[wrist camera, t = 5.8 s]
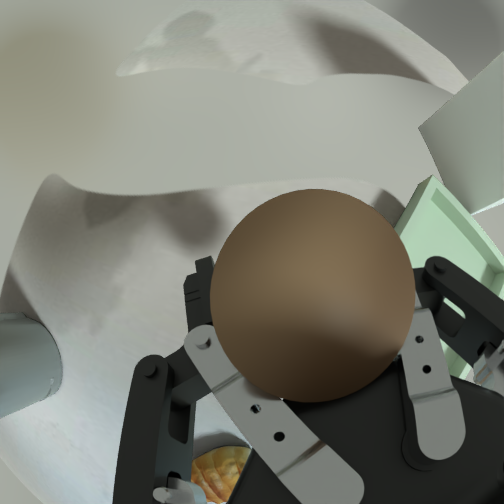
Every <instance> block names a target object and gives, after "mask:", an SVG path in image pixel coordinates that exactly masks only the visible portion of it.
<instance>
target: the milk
mask: <svg viewBox="0 0 504 504" xmlns="http://www.w3.org/2000/svg"><path fill="white" fill-rule="evenodd" d="M418 129H419V131H420V132H421V134H422V136H423V138H424V140H425V142H426V144H427V146H428V149H429V151H430V153H431V155H432V157H433V159H434V162H435V164H436V166H437V168H438V171H439V173H440V176H441V178H442V180H443V182H444V185H445V187H446V188H447V189H448V190H449V191H450V193H451V194H452V195H453V196H454V197H455V198H456V199H457V200H458V201H459V202H460V203H461V204H462V206H463V207H464V208H465V209H466V210H467V211H468V212H469V213H470V215H474V214H477V213H479V212H481V211H484V210H487V209H490V208H492V207H495V206H497V205H500V204H502V203H504V51H503V52H502V53H500V54H499V55H498V56H497V57H496V58H495V59H494V60H493V61H492V62H491V63H490V64H489V65H488V66H486V67H485V68H484V69H483V70H482V71H481V72H480V73H479V74H478V75H477V76H475V77H474V78H473V79H472V80H471V81H470V82H469V83H468V84H467V85H466V86H464V87H463V88H462V89H461V90H460V91H459V92H458V93H457V94H456V95H454V96H453V97H452V98H451V99H450V100H449V101H448V102H447V103H446V104H445V105H443V106H442V107H441V108H440V109H439V110H438V111H437V112H435V114H433V115H432V116H431V117H430V118H429V119H428V120H426V121H425V122H424V123H423V124H422V125H421V126H420V127H419V128H418Z"/></svg>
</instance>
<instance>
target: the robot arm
mask: <svg viewBox="0 0 504 504" xmlns="http://www.w3.org/2000/svg"><path fill="white" fill-rule="evenodd" d="M195 265H196V272H197V273H194V274H191V275H188V276H187V277H186V280H185V282H184V285H183V286H184V295H185V306H186V315H187V323H188V334H187V336H186V338H185V340H184V345H183V346H182V347H181V348H180V349H179V350H177V351H176V352H174V353H172V354H171V355H169V356H167V357H166V358H163V357H162V356H160V355H149V356H146V357H144V358H143V359H141V360H140V361H139V362H138V364H137V365H136V367H135V370H134V373H133V378H132V382H131V387H130V392H129V397H128V401H127V406H126V412H125V417H124V422H123V428H122V434H121V440H120V446H119V453H118V459H117V467H116V475H115V483H114V492H113V503H112V504H207V501H206V495H205V493H204V491H203V490H202V488H201V487H200V486H198V485H197V484H195V483H193V482H191V469H192V452H193V437H194V423H195V411H196V401H197V400H199V399H201V398H202V397H204V396H206V395H207V394H209V393H211V392H212V393H213V394H214V396H215V397H216V399H217V400H218V402H219V403H220V404H221V406H222V407H223V409H224V410H225V411H226V413H227V414H228V415H229V417H230V418H231V420H232V421H233V422H234V424H235V425H236V426H237V427H238V429H239V430H240V431H241V433H242V434H243V435H244V437H245V438H246V439H247V440H248V442H249V443H250V444H251V445H252V450H251V452H250V454H249V456H248V459H247V461H246V463H245V465H244V467H243V470H242V472H241V474H240V476H239V478H238V480H237V482H236V484H235V487H234V489H233V491H232V493H231V495H230V497H229V499H228V501H227V503H226V504H504V301H503V300H502V299H501V298H500V297H498V296H497V295H496V294H495V293H493V292H492V291H491V290H489V289H488V288H487V287H485V286H484V285H483V284H481V283H480V282H479V281H477V280H476V279H475V278H473V277H472V276H471V275H469V274H468V273H466V272H465V271H464V270H462V269H461V268H459V267H458V266H457V265H455V264H454V263H452V262H451V261H449V260H448V259H446V258H444V257H441V256H432V257H429V258H428V259H427V260H426V262H425V266H424V267H420V268H413V273H414V279H415V308H414V314H413V319H412V323H411V326H410V329H409V332H408V335H407V337H406V339H405V342H404V344H403V346H402V347H401V349H400V351H399V352H398V354H397V356H396V357H395V358H394V360H393V361H392V362H391V364H390V365H389V366H388V367H387V368H386V369H385V370H384V371H383V372H382V373H381V374H380V375H379V376H378V377H377V378H376V379H374V380H373V381H372V382H371V383H369V384H368V385H366V386H365V387H363V388H361V389H360V390H358V391H356V392H354V393H351V394H349V395H347V396H344V397H341V398H338V399H334V400H330V401H323V402H298V401H291V400H287V399H283V401H282V400H281V399H280V398H279V397H277V396H274V395H272V394H270V393H268V392H265V391H264V390H262V389H260V388H259V387H257V386H255V385H254V384H252V383H251V382H250V381H249V380H248V379H246V378H245V377H244V376H243V375H242V374H241V373H240V372H239V371H238V370H237V369H236V368H235V367H234V365H233V364H232V363H231V361H230V360H229V359H228V357H227V356H226V354H225V353H224V351H223V349H222V347H221V345H220V342H219V340H218V338H217V335H216V332H215V329H214V326H213V321H212V315H211V309H210V289H211V280H212V275H213V271H214V267H215V264H214V261H213V259H212V256H208V257H205V258H202V259H199V260H196V261H195ZM445 298H447V299H448V300H449V301H451V302H452V303H453V304H454V305H456V306H457V307H458V308H459V309H461V310H462V311H463V313H464V315H465V318H463V317H462V316H461V315H460V314H459V313H457V312H456V311H455V310H454V309H452V308H451V307H450V306H449V305H447V304H446V303H445V302H444V299H445ZM440 339H441V340H442V341H444V342H445V343H446V344H447V345H448V346H449V347H450V348H451V349H452V350H454V351H455V352H456V353H457V354H458V355H459V356H460V357H461V358H462V359H463V360H465V361H466V362H467V363H468V364H469V365H470V366H471V367H472V368H473V371H474V377H473V380H474V382H475V383H476V384H474V383H471V382H469V381H466V380H463V379H461V378H458V377H455V376H453V375H450V374H449V370H448V366H447V362H446V359H445V355H444V351H443V348H442V345H441V341H440ZM61 380H62V363H61V358H60V354H59V351H58V348H57V346H56V344H55V342H54V340H53V338H52V336H51V335H50V333H49V332H48V331H47V330H46V328H45V327H44V326H42V325H41V324H40V323H39V322H37V321H35V320H32V319H28V318H26V316H25V315H24V314H23V313H0V418H2V417H5V416H7V415H9V414H12V413H14V412H16V411H18V410H21V409H23V408H25V407H27V406H30V405H32V404H34V403H36V402H38V401H42V400H44V399H46V398H47V397H49V396H51V395H53V394H55V393H56V391H57V390H58V389H59V387H60V384H61ZM477 384H478V385H477ZM479 385H481V386H479Z"/></svg>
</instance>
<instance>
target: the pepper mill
mask: <svg viewBox="0 0 504 504" xmlns="http://www.w3.org/2000/svg"><path fill="white" fill-rule="evenodd" d="M414 308H415V279H414V273H413V268H412V265H411V261H410V258H409V255H408V253H407V251H406V248H405V246H404V244H403V242H402V241H401V239H400V237H399V235H398V234H397V232H396V231H395V230H394V228H393V227H392V226H391V225H390V223H389V222H388V221H387V220H386V219H385V218H384V217H383V216H382V215H381V214H380V213H378V212H377V211H376V210H375V209H373V208H372V207H371V206H369V205H367V204H366V203H364V202H362V201H361V200H359V199H357V198H354V197H352V196H350V195H347V194H344V193H340V192H337V191H331V190H324V189H306V190H298V191H293V192H289V193H286V194H282V195H280V196H277V197H275V198H273V199H270V200H268V201H267V202H265V203H263V204H262V205H260V206H258V207H257V208H255V209H254V210H253V211H252V212H250V213H249V214H248V215H247V216H246V217H245V218H244V219H243V220H242V221H241V222H240V223H239V224H238V225H237V226H236V227H235V228H234V230H233V231H232V233H231V234H230V235H229V237H228V238H227V240H226V242H225V243H224V245H223V247H222V249H221V251H220V253H219V256H218V258H217V261H216V264H215V267H214V271H213V275H212V280H211V289H210V309H211V315H212V321H213V326H214V329H215V332H216V335H217V338H218V340H219V342H220V345H221V347H222V349H223V351H224V353H225V354H226V356H227V357H228V359H229V360H230V361H231V363H232V364H233V365H234V367H235V368H236V369H237V370H238V371H239V372H240V373H241V374H242V375H243V376H244V377H245V378H246V379H248V380H249V381H250V382H251V383H252V384H254V385H255V386H257V387H259V388H260V389H262V390H264V391H265V392H268V393H270V394H272V395H274V396H277V397H280V398H283V399H287V400H291V401H298V402H323V401H330V400H334V399H338V398H341V397H344V396H347V395H349V394H351V393H354V392H356V391H358V390H360V389H361V388H363V387H365V386H366V385H368V384H369V383H371V382H372V381H373V380H374V379H376V378H377V377H378V376H379V375H380V374H381V373H382V372H383V371H384V370H385V369H386V368H387V367H388V366H389V365H390V364H391V362H392V361H393V360H394V358H395V357H396V356H397V354H398V352H399V351H400V349H401V347H402V346H403V344H404V342H405V339H406V337H407V335H408V332H409V329H410V326H411V323H412V319H413V314H414Z"/></svg>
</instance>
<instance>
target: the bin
mask: <svg viewBox="0 0 504 504" xmlns="http://www.w3.org/2000/svg"><path fill="white" fill-rule="evenodd" d="M394 230H395V231H396V232H397V234H398V235H399V237H400V239H401V241H402V242H403V244H404V246H405V248H406V251H407V253H408V255H409V258H410V261H411V265H412V268H420V267H424V266H425V262H426V260H427V259H428V258H429V257H432V256H441V257H444V258H446V259H448V260H449V261H451V262H452V263H454V264H455V265H457V266H458V267H459V268H461V269H462V270H464V271H465V272H466V273H468V274H469V275H471V276H472V277H473V278H475V279H476V280H477V281H479V282H480V283H481V284H483V285H484V286H485V287H487V288H488V289H489V290H491V291H492V292H493V293H495V294H496V295H497V296H498V297H500V298H501V299H502V300H503V298H504V257H503V255H502V254H501V253H500V251H499V250H498V249H497V247H496V246H495V244H494V243H493V242H492V241H491V239H490V238H489V237H488V236H487V234H486V233H485V232H484V230H483V229H482V228H481V227H480V225H479V224H478V223H477V222H476V221H475V219H474V218H473V217H472V216H471V215H470V213H469V212H468V211H467V210H466V209H465V208H464V207H463V206H462V204H461V203H460V202H459V201H458V200H457V199H456V198H455V197H454V196H453V195H452V194H451V193H450V191H449V190H448V189H447V188H446V187H445V186H444V185H443V184H442V183H441V182H440V181H439V180H438V179H437V178H436V177H435V176H434V175H431V176H430V177H429V178H427V179H426V180H424V181H423V182H421V183H420V184H418V186H417V188H416V190H415V192H414V194H413V196H412V197H411V199H410V201H409V203H408V205H407V206H406V208H405V210H404V212H403V213H402V215H401V217H400V219H399V220H398V222H397V224H396V225H395V227H394ZM444 302H445V303H446V304H447V305H449V306H450V307H451V308H452V309H454V310H455V311H456V312H457V313H459V314H460V315H461V316H462V317H463V318H465V315H464V313H463V311H462V310H461V309H459V308H458V307H457V306H456V305H454V304H453V303H452V302H451V301H449V300H448V299H447V298H445V299H444ZM440 341H441V345H442V348H443V351H444V355H445V359H446V362H447V366H448V370H449V374H450V375H453V376H455V377H458V378H461V379H463V380H464V379H465V377H466V376H467V374H468V372H469V371H470V369H471V366H470V365H469V364H468V363H467V362H466V361H465V360H463V359H462V358H461V357H460V356H459V355H458V354H457V353H456V352H455V351H454V350H452V349H451V348H450V347H449V346H448V345H447V344H446V343H445V342H444V341H442V340H441V339H440Z"/></svg>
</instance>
